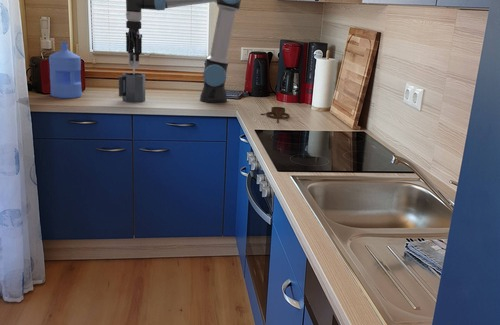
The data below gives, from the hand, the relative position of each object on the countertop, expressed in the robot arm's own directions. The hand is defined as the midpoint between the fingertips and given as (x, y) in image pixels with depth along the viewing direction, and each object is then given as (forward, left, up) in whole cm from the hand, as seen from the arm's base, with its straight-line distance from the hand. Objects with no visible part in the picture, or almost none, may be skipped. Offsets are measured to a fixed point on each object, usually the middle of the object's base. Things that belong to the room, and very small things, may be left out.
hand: (133, 66), depth 265 cm
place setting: (-44, +62, -19) cm, 79 cm away
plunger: (0, 0, -13) cm, 13 cm away
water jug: (+27, -24, -18) cm, 40 cm away
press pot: (+1, 0, -18) cm, 18 cm away
